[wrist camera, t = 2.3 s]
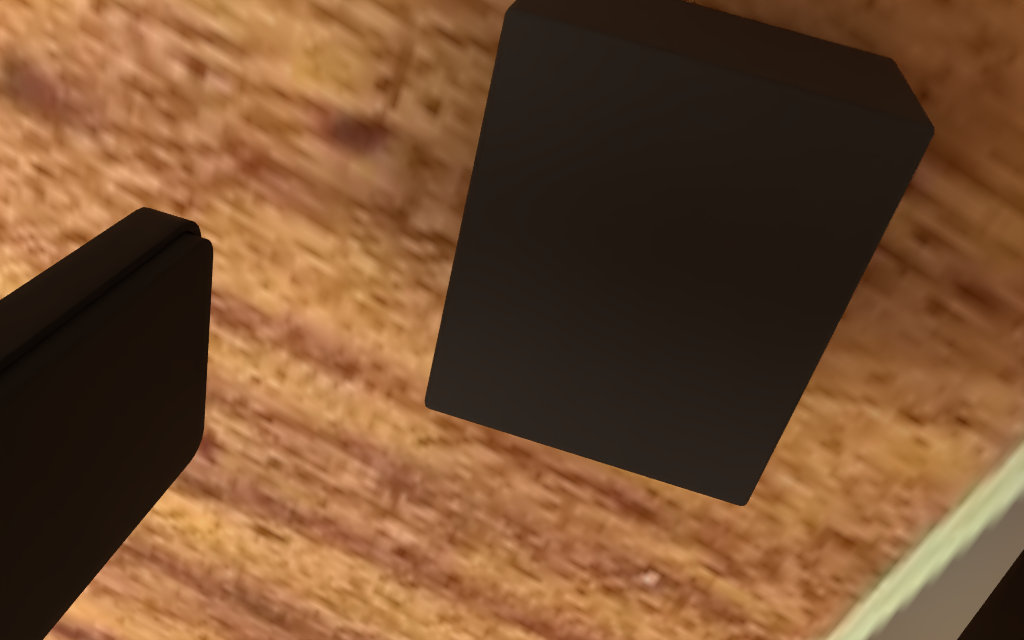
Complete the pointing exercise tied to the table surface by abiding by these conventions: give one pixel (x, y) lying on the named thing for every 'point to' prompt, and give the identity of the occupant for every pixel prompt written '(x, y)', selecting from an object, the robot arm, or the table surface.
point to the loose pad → (666, 232)
